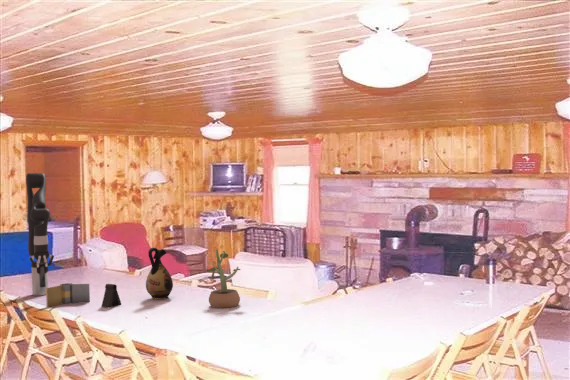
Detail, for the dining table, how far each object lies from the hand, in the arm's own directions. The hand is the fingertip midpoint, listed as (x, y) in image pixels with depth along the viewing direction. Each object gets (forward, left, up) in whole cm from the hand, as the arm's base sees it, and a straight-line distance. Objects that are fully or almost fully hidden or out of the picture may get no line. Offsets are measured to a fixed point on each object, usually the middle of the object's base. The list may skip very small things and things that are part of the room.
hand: (42, 273), depth 357 cm
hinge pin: (0, 0, -8) cm, 8 cm away
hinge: (+8, +12, -17) cm, 22 cm away
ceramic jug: (+26, +60, -17) cm, 68 cm away
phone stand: (+30, +32, -17) cm, 47 cm away
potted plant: (+63, +85, -17) cm, 107 cm away
